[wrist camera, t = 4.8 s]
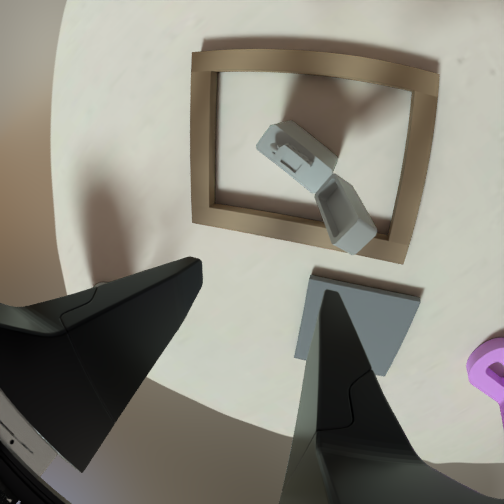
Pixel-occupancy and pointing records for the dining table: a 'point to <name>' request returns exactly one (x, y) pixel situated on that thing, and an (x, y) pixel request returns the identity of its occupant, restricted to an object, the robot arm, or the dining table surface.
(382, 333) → the mat
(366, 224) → the lighter
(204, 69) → the frame
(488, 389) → the bracket
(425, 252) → the dining table surface
